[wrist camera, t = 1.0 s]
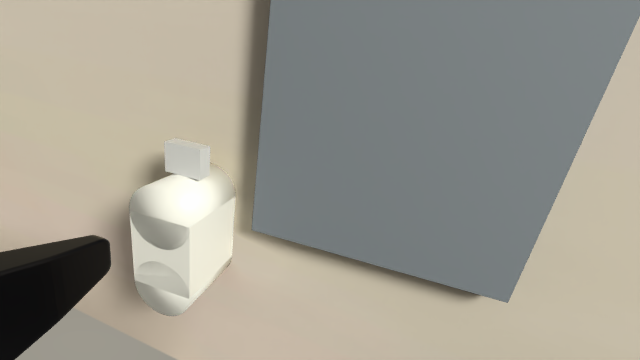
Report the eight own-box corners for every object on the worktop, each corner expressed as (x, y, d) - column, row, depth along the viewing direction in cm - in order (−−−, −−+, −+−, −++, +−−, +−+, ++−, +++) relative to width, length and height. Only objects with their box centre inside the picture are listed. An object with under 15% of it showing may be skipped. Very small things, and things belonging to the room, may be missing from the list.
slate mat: (501, 289, 19) (507, 302, 18) (259, 222, 22) (251, 229, 21) (635, -13, 13) (656, -22, 12) (284, -45, 16) (275, -55, 15)
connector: (230, 277, 24) (189, 324, 20) (186, 262, 25) (136, 304, 20) (238, 142, 20) (189, 161, 16) (185, 130, 21) (124, 145, 17)
